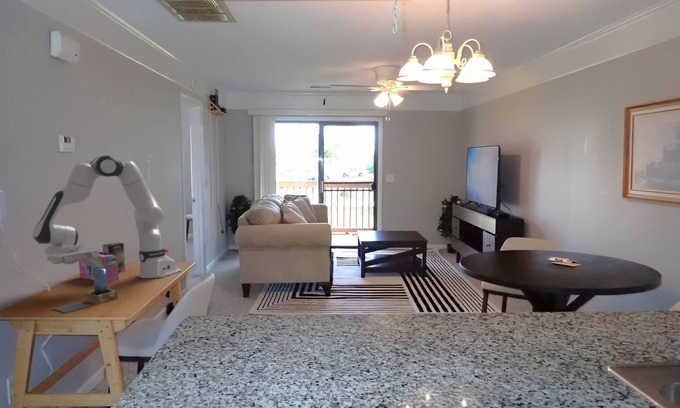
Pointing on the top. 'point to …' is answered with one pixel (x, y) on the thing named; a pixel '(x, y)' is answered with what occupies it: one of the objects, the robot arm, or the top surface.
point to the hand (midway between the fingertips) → (83, 257)
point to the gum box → (100, 266)
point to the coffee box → (116, 249)
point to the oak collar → (101, 296)
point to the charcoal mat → (71, 307)
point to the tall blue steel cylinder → (100, 281)
